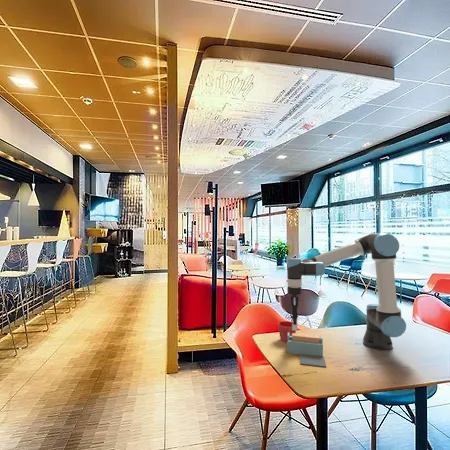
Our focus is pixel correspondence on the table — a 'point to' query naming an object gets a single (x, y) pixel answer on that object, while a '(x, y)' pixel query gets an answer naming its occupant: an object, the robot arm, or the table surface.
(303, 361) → the mat
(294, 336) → the bar
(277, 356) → the table surface
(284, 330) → the flower pot
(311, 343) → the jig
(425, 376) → the table surface
